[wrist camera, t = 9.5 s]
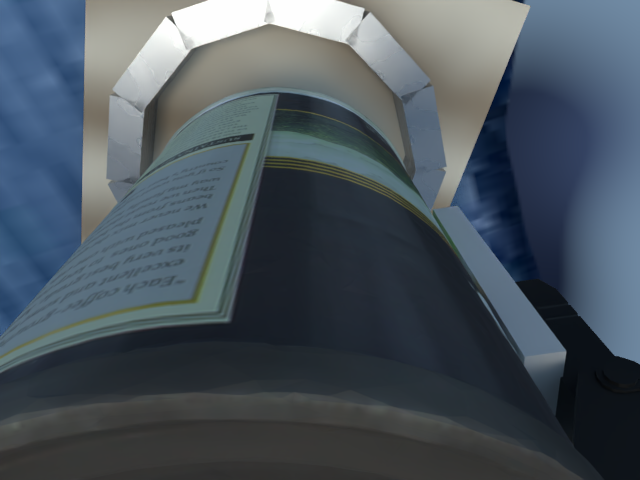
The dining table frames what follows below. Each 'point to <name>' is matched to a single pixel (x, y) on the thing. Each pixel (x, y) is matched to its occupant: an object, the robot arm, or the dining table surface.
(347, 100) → the birch board
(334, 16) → the steel collar
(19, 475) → the coffee can
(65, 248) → the dining table surface
